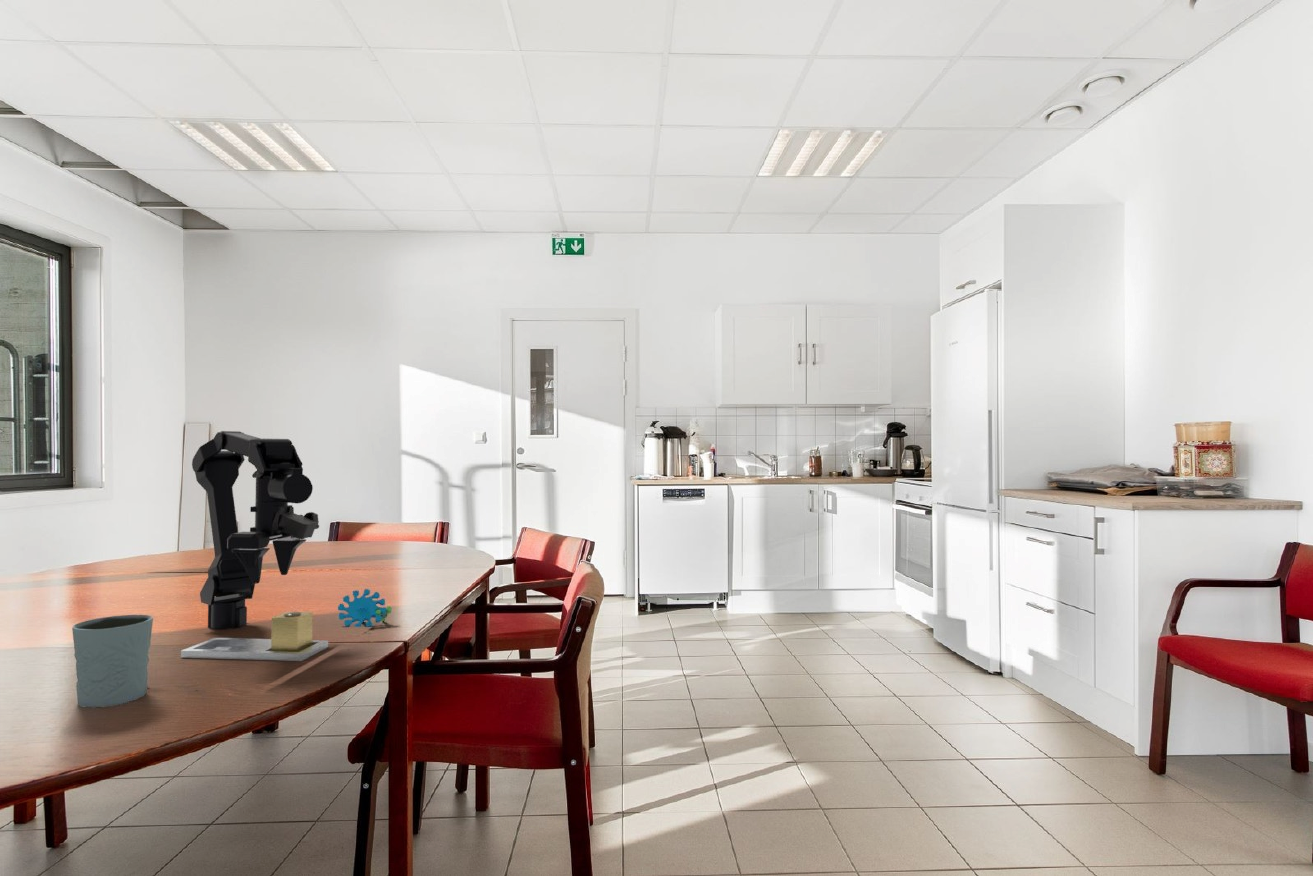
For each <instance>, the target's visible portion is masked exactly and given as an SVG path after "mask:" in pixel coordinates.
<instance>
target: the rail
mask: <svg viewBox="0 0 1313 876" xmlns="http://www.w3.org/2000/svg"><path fill="white" fill-rule="evenodd" d="M328 648H329V640H318V639H316V640H315V639H312V646H310V647H308V648H306V649H304V650H302V651H300V652H282V651H271V638H245V637H243V638H241V637H212V638H210V639H208V640H205V641H203V642H200V643H197V644H195V645H192V646H190V647H186V648H184V649H181V650H180V658H183V659H185V658H187V659H213V660H214V659H219V660H220V659H221V660H254V661H255V660H257V661H260V660H261V661H289V662H291V661H293V662H294V661H295V662H302V661H304V660H306V659H309V658H311V657H312V656H314V655H316V654H318V653H319V652H321V651H324V650H326V649H328Z"/></svg>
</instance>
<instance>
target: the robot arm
mask: <svg viewBox="0 0 1313 876" xmlns="http://www.w3.org/2000/svg"><path fill="white" fill-rule="evenodd" d="M245 457H248V459H247V461H248V463H250V464H251V465H252V466H254V468H255V469H256V470H255V471H254V472H253V473H252V478H254V479H255V504H254V505H255V506H254V505H253V506H250V513H255V514H254V515H255V517H254V526H252V527H249V528H250V529H249V531H240V532H239V528H238V522H237V515H236V506H235V499H234V491H233V487H234V485H235V483H236V481H237V479H238V477H239V475H240V468H241V467H242V465H243V463H244V462H245V460H246V459H245ZM191 466H192V471H194V474H195V479H196V483H197V484H199V485H200V486H201V487H202V489H203V490H205V492H206V495H207V502H208V503H207V505H208V512H209V519H210V526H211V527H210V528H211V533H212V534H211V535H212V542H213V550H214V558H213V560H212V561H211V564H210V566H209V567H208V569H207V578H206V581H205V583H204V584H203V586H202V588H201V590H200V591H199V598H200V603H201V604H204V605H207V628H208V629H212V630H229V629H240V628H243V627H245V626H247V625H250V623H248V621H247V618H248V607H247V606H246V600H250V599H253V595H254V591H255V588H256V584H259V583H261V576H262V568H263V567H262V566H263V558H264V556H265V555H266V554H267V552H269V550H270V547H268V546H269V544H270V541H271V542H272V545H273V546H272V547H273V549H274V555H275V558H276V562H277V565H278V569H279V572H280V575H281V576H287V575H288V573H289V570H290V567H291V564H292V562H293V559H294V556H295V554H296V551H297V548H299V547H300V546H301V545H302V544H303V543H306V541H307V539H309V538H312V537H313V535H314V532H315V530H318V529H319V528H320V524H319V522H320V521H319V515H318V513H315V512H313V511H311V512H310V511H309V512H306V513H305V514H304V515H303V514H298V513H297V514H296V513H294V511H295V510H294V509H295V508H294V506H293V505H292V504H302V503H305V502H306V501H307V500H309V498H310V497H311V495H312V494H313V489H314V487H313V484H312V481H311V480H310V478H309V477H308V476H306V475H305V474H303V471H304V469H303V462H302V461H301V458H300V457H299V454H298V452H297V450H296V447H295V445H294V444H293V441H292V440H290V439H289V438H260V437H257V436H253V435H250V434H247V433H245V432H242V431H239V430H235V431H234V430H233V431H232V430H227V431H226V430H221V431H218V432H216V433H215V435H214V437H213V438H212V439H211V440H209V441H208V442H205V443H204V444H203V445H200V447H198V449H197V450H196V452H195V454H194V456H193V458H192V462H191ZM289 504H291V505H289Z"/></svg>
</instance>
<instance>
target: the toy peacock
mask: <svg viewBox="0 0 1313 876" xmlns="http://www.w3.org/2000/svg"><path fill="white" fill-rule="evenodd" d="M370 594H371V590H370V589H368V588H365V589H364V590H363V594H362V595H361V596H360V597H358V596H359V595H360V591H359V590H353V591H352V596H353V600H352V601H351V600H350V596H349V595H345V596H343V597H342V601H343V602H344V603H346V604H347V605H348V606H347V607H346V606H345V604H344V603H339V604H338V607H337V610H338V611H339V613H338V619H339V621H342V620H344V619H345V620H344V621H343V623H344V625H345V627H347V628H348V627H350V626H351V625H352V624H353V623H355V622H356V623H355V624H354V625H353V627H354V628H361V627H362V624H363V622H364V621H365V622H364V623H365V628H373V622H372V619H373V618H374V619H375V623H380V622H382V621H385V622H386V618H387V617H388V615H389V614H392V608H393V607H392V606H390V605H389V606H387V607H386V599H385V598H381V599H379V598H380V596H381V595H380V593H379V592H378V591H375V592H373V594H371V595H370ZM369 595H370V596H369ZM367 596H368V597H367ZM374 599H375V600H374ZM376 599H377V600H376ZM378 605H380V606H381V607H380V606H378ZM382 606H385V607H382ZM340 611H341V612H340ZM344 612H347V613H344ZM366 621H367V622H366Z"/></svg>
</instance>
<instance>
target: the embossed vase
mask: <svg viewBox="0 0 1313 876" xmlns="http://www.w3.org/2000/svg"><path fill="white" fill-rule="evenodd" d="M153 621H154V617H153V615H147V614H126V615H125V614H122V615H112V616H104V617H99V618H93V619H88V620H84V621H81V622H78V623H76V624H74V625H73V626H72V629H71V630H72V641H73V646H74V647H73V648H74V650H73V651H74V659H75V661H76V662H75V669H76V670H75V671H76V679H77V681H76V686H75V687H76V696H77V705H78V706H79V705H81V706H85V707H84V708H86V707H101V708H106V707H105V706H109V707H112V706H111V705H115V706H119V704H120V705H124V704H127V702H128V703H130V702H129V701H131V702H133V701H132V700H134V701H136V699H137V700H139V699H140V697H141V698H142V697H144V696H145V695H146V693H147V687H148V679H149V678H148V677H149V673H148V665H149V661H150V658H149V653H150V651H149V650H150V647H151V642H152V641H151V640H152V631H153V624H154V623H153ZM138 698H139V699H138ZM123 703H124V704H123ZM81 706H80V707H81ZM102 706H104V707H102Z"/></svg>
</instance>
